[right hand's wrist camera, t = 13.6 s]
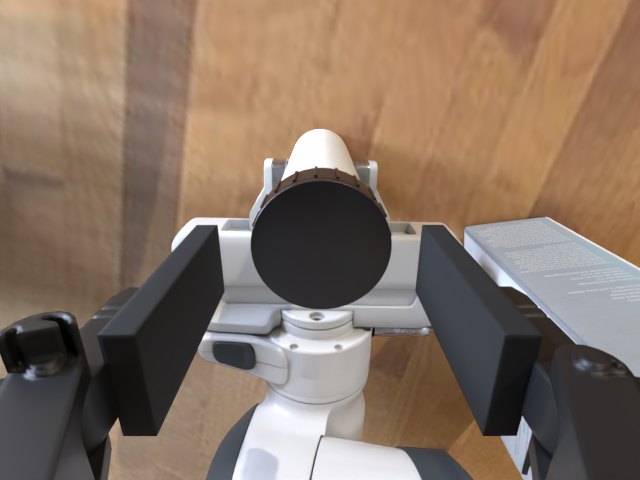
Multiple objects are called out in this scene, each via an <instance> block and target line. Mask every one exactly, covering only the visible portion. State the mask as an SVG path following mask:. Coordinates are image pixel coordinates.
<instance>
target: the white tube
mask: <svg viewBox="0 0 640 480" xmlns="http://www.w3.org/2000/svg"><path fill="white" fill-rule="evenodd" d="M315 166H317V167H318V168H332V169H335V167H336V168H338V170H340V171H343V172H346V173H348V174H350V175H352V176H353V175H356V176H357V179H359V177H358V174H357V172H356V169H355V167H354V165H353V162H352V160H351V157H350V155H349V152H348V150H347V148H346V145H345V143H344V142H343V140H342V139H341V138H340V137H339V136H338V135H337V134H335V133H334V132H332V131H329V130H325V129H316V130H312V131H309V132H307V133H306V134H304V135H303V136H302V137H301V138H300V139H299V140H298V142H297V143H296V145H295V147H294V150H293V153H292V155H291V158H290V160H289V163H288V165H287V168H286V170H285V173H284V175H283V178H282V180H284V179H285V178H286V177H288V176H290V175H292V174H294V173H295V171H296V170H298V172H299V171H302V170H306V169H311V168H315ZM359 180H360V179H359Z"/></svg>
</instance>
